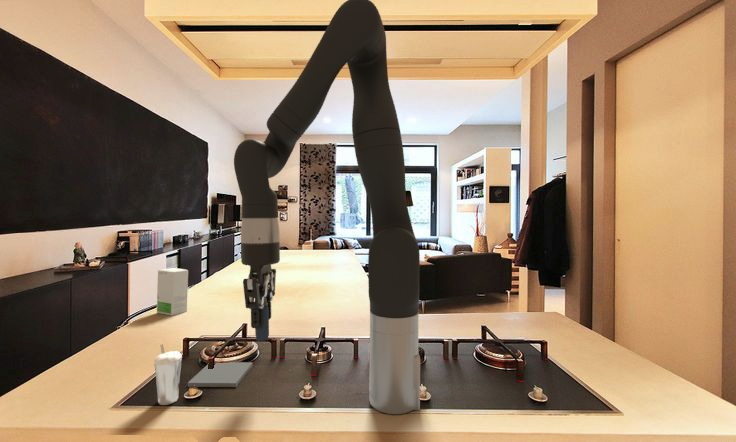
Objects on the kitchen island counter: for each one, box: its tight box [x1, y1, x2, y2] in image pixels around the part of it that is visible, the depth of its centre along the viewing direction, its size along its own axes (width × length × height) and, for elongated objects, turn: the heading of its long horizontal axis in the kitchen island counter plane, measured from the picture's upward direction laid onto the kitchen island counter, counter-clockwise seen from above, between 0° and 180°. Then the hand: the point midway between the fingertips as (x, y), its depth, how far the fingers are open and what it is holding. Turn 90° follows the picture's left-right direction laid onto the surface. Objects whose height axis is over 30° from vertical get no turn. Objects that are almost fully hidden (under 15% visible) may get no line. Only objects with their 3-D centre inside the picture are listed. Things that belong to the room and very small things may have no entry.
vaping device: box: [254, 291, 270, 342], centre depth 71 cm, size 3×5×12 cm, turn 21°
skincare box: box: [156, 267, 189, 317], centre depth 125 cm, size 8×7×16 cm
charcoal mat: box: [187, 361, 254, 388], centre depth 76 cm, size 10×10×1 cm
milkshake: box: [153, 343, 183, 406], centre depth 66 cm, size 4×5×10 cm
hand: (261, 322), depth 71 cm, fingers closed on vaping device, 5 cm apart
